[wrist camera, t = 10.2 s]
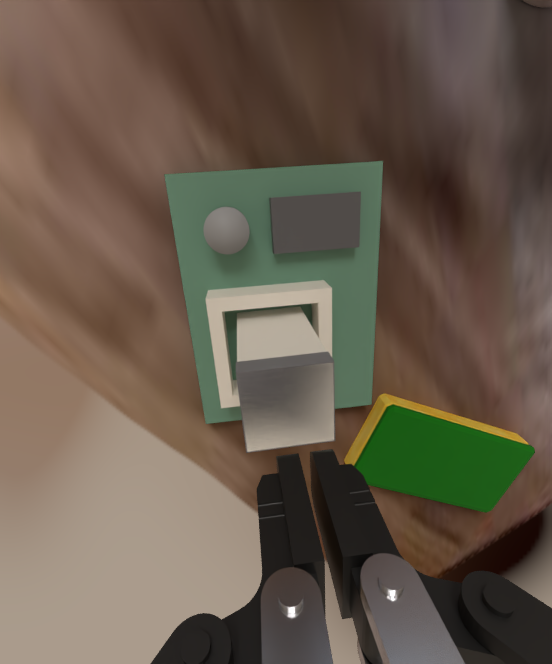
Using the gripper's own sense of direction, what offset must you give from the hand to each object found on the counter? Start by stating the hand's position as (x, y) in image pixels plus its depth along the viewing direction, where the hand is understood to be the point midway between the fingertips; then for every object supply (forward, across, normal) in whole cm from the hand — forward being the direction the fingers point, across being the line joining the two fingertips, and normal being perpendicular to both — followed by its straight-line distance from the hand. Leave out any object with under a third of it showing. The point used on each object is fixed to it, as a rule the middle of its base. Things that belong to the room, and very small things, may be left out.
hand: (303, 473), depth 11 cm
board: (+13, -1, -2) cm, 13 cm away
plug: (+12, 0, 0) cm, 12 cm away
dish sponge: (+14, -13, +12) cm, 22 cm away
